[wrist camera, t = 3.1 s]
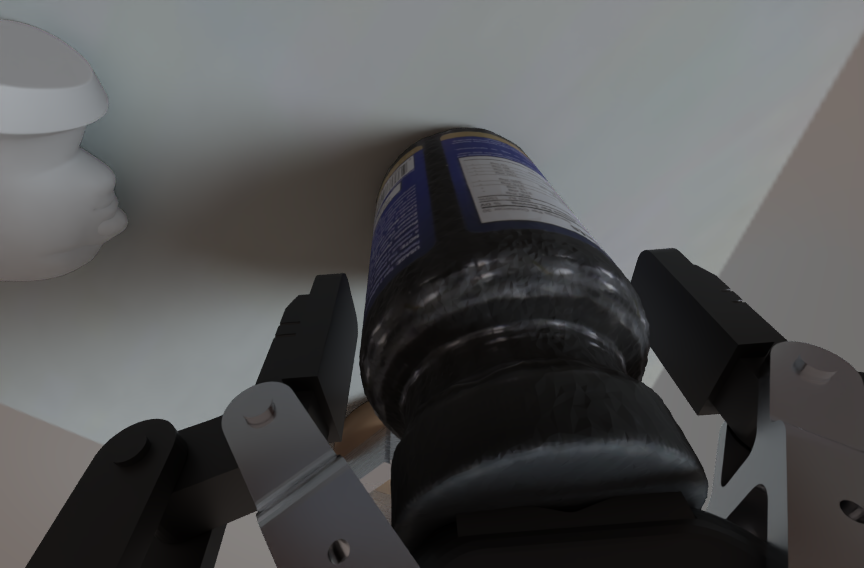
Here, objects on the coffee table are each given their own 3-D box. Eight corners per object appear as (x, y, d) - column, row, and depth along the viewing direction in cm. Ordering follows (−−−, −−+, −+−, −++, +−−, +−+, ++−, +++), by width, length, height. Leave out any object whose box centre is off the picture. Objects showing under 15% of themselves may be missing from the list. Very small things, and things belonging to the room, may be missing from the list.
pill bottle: (421, 294, 17) (442, 619, 8) (343, 173, 14) (233, 507, 5) (558, 237, 16) (760, 551, 7) (510, 87, 12) (792, 326, 3)
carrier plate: (355, 500, 28) (349, 557, 25) (312, 394, 20) (298, 458, 18) (522, 484, 28) (535, 539, 25) (538, 373, 21) (560, 433, 18)
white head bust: (105, 247, 16) (-88, 185, 13) (193, 97, 13) (-34, -41, 9) (73, 332, 13) (-183, 284, 10) (173, 170, 10) (-155, 16, 7)
